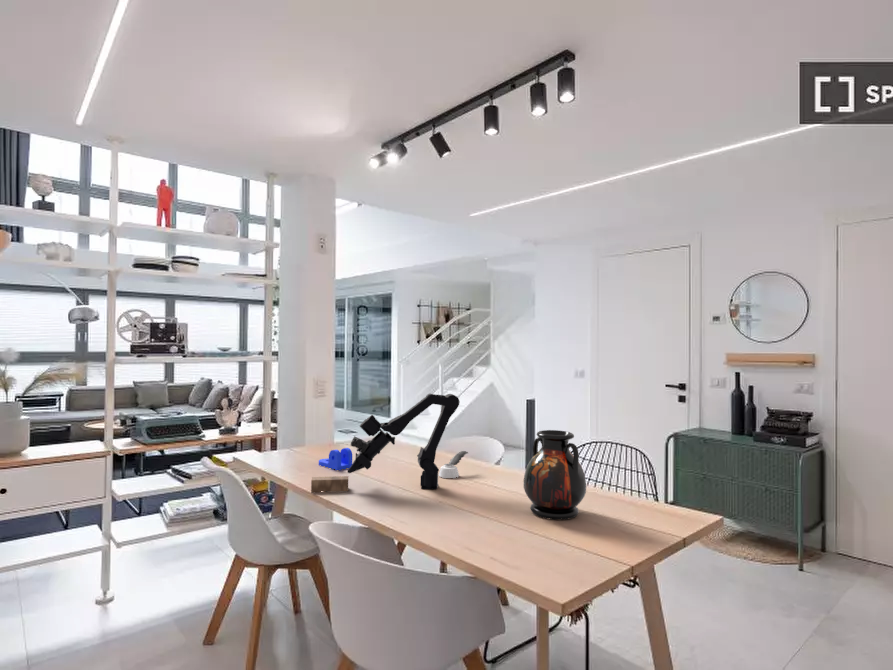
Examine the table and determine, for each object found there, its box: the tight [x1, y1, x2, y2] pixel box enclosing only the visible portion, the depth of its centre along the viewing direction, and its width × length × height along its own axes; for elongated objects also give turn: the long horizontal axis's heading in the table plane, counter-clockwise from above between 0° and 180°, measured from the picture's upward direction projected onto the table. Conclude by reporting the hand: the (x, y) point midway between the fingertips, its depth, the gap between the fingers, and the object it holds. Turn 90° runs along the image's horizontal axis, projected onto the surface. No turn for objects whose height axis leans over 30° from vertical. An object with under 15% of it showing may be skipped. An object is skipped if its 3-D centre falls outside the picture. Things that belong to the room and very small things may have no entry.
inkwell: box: [438, 450, 469, 479], centre depth 235 cm, size 9×18×10 cm, turn 141°
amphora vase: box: [522, 429, 587, 520], centre depth 182 cm, size 22×22×28 cm
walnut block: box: [310, 475, 349, 494], centre depth 205 cm, size 5×5×14 cm
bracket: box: [318, 447, 353, 471], centre depth 246 cm, size 18×8×9 cm, turn 47°
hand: (348, 472), depth 207 cm, fingers closed
